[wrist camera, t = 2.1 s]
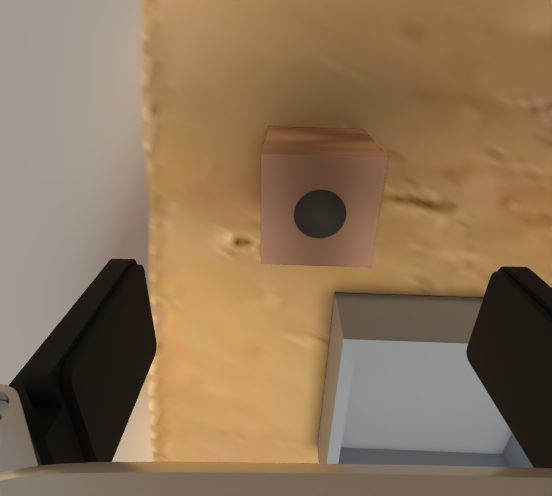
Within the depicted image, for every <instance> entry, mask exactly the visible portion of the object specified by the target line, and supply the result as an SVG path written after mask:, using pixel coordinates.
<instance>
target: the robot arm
mask: <svg viewBox="0 0 552 496" xmlns="http://www.w3.org/2000/svg"><path fill="white" fill-rule="evenodd" d="M155 353H156V337H155V331H154V325H153V319H152V313H151V307H150V302H149V296H148V290H147V284H146V278H145V272H144V268H143V266H142V265H137V263H136V261H135V260H134V259H111V260H110V261H109V262H108V263H107V264H106V266H105V267H104V268H103V270H102V271H101V272H100V273H99V274H98V276H97V277H96V278H95V279H94V281H93V282H92V283H91V284H90V285H89V287H88V288H87V289H86V291H85V292H84V293H83V294H82V295H81V297H80V298H79V299H78V301H77V302H76V303H75V304H74V305H73V307H72V308H71V309H70V310H69V312H68V313H67V314H66V315H65V316H64V318H63V319H62V320H61V322H60V323H59V324H58V325H57V326H56V328H55V329H54V330H53V331H52V333H51V334H50V335H49V336H48V337H47V339H46V340H45V341H44V342H43V344H42V345H41V346H40V347H39V349H38V350H37V351H36V353H35V354H34V355H33V356H32V357H31V358H30V360H29V361H28V362H27V363H26V365H25V366H24V367H23V368H22V370H21V371H20V372H19V373H18V375H17V376H16V377H15V378H14V380H13V381H12V382H11V383H10V384H9V386H7V385H0V496H552V288H551V287H550V286H549V285H547V284H546V283H545V282H544V281H543V280H542V279H541V278H539V277H538V276H537V275H536V274H535V273H534V272H532V271H531V270H530V269H529V268H527V267H501V268H500V269H499V270H498V271H497V272H494V273H493V274H492V276H491V278H490V281H489V284H488V287H487V290H486V293H485V295H484V298H483V301H482V304H481V307H480V310H479V313H478V316H477V319H476V322H475V325H474V328H473V331H472V334H471V337H470V340H469V343H468V346H467V350H466V354H467V359H468V361H469V363H470V365H471V366H472V368H473V370H474V371H475V373H476V375H477V376H478V378H479V379H480V381H481V383H482V384H483V386H484V388H485V389H486V391H487V392H488V394H489V396H490V397H491V399H492V401H493V402H494V404H495V405H496V407H497V409H498V410H499V412H500V414H501V415H502V417H503V419H504V420H505V422H506V423H507V425H508V427H509V428H510V430H511V432H512V433H513V435H514V436H515V438H516V440H517V441H518V443H519V445H520V446H521V448H522V450H523V451H524V453H525V454H526V456H527V458H528V459H529V461H530V463H531V464H532V466H533V467H534V468H518V467H476V466H428V465H374V464H315V463H238V462H112V459H113V457H114V454H115V452H116V450H117V447H118V445H119V442H120V440H121V437H122V435H123V433H124V430H125V427H126V425H127V423H128V420H129V418H130V415H131V413H132V410H133V408H134V406H135V403H136V401H137V398H138V396H139V393H140V390H141V388H142V386H143V383H144V381H145V378H146V376H147V374H148V371H149V369H150V366H151V364H152V361H153V359H154V356H155Z"/></svg>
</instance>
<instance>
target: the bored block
mask: <svg viewBox="0 0 552 496" xmlns="http://www.w3.org/2000/svg"><path fill="white" fill-rule="evenodd" d="M388 160H389V157H388V156H387V155H386V154H385V153H384V151H383V150H382V149H381V148H380V147H379V146H378V145H377V144H376V143H375V142H374V141H373V140H372V138H371V137H370V136H369V135H368V134H367V133H366V132H365V131H364V130H363V129H347V128H308V127H268V130H267V134H266V137H265V141H264V145H263V148H262V152H261V264H283V265H312V266H342V267H371V265H372V259H373V253H374V247H375V240H376V234H377V228H378V222H379V216H380V209H381V203H382V197H383V191H384V185H385V179H386V172H387V166H388Z"/></svg>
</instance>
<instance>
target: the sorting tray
mask: <svg viewBox="0 0 552 496" xmlns="http://www.w3.org/2000/svg"><path fill="white" fill-rule="evenodd" d="M482 301H483V298H477V297H448V296H419V295H390V294H361V293H335V296H334V305H333V314H332V322H331V331H330V340H329V349H328V358H327V367H326V375H325V384H324V393H323V402H322V411H321V420H320V429H319V437H318V459H319V464H374V465H428V466H476V467H518V468H534V467H533V466H532V464H531V463H530V461H529V459H528V458H527V456H526V454H525V453H524V451H523V450H522V448H521V446H520V445H519V443H518V441H517V440H516V438H515V436H514V435H513V433H512V432H511V430H510V428H509V427H508V425H507V423H506V422H505V420H504V419H503V417H502V415H501V414H500V412H499V410H498V409H497V407H496V405H495V404H494V402H493V401H492V399H491V397H490V396H489V394H488V392H487V391H486V389H485V388H484V386H483V384H482V383H481V381H480V379H479V378H478V376H477V375H476V373H475V371H474V370H473V368H472V366H471V365H470V363H469V361H468V359H467V354H466V350H467V346H468V343H469V340H470V337H471V334H472V331H473V328H474V325H475V322H476V319H477V316H478V313H479V310H480V307H481V304H482Z"/></svg>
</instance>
